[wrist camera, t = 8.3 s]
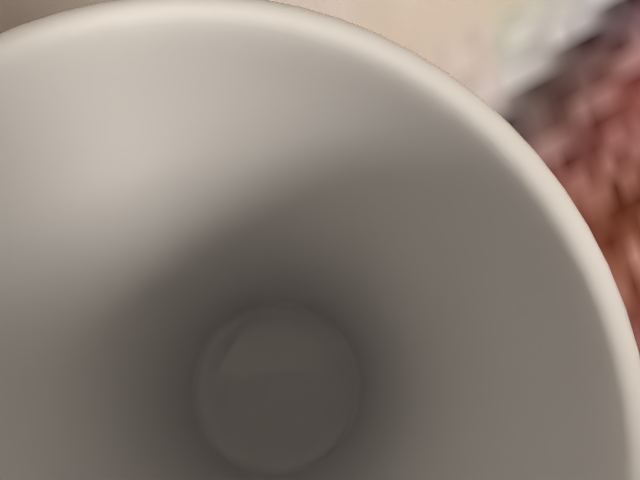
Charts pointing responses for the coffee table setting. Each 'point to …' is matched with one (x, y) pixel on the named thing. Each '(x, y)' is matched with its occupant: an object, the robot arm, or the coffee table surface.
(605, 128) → the coffee table surface
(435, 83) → the white cup
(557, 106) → the coffee table surface
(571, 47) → the coffee table surface
